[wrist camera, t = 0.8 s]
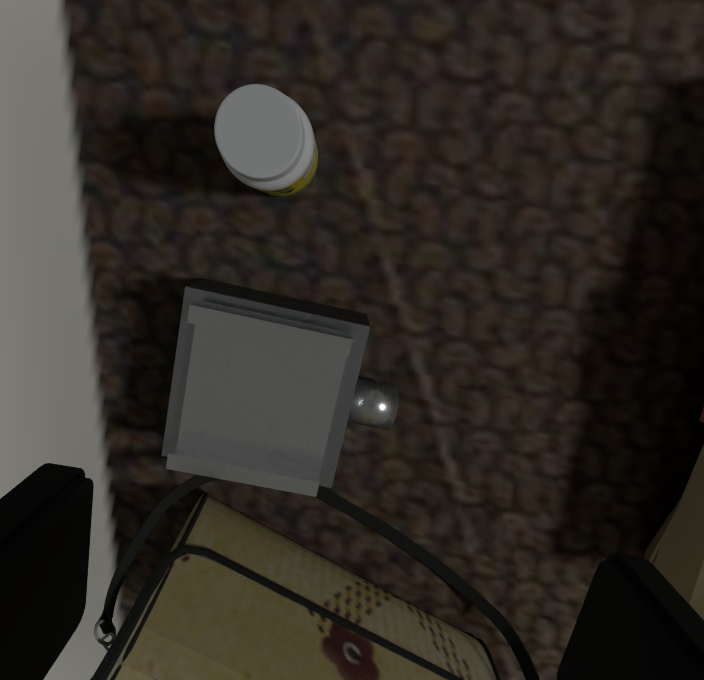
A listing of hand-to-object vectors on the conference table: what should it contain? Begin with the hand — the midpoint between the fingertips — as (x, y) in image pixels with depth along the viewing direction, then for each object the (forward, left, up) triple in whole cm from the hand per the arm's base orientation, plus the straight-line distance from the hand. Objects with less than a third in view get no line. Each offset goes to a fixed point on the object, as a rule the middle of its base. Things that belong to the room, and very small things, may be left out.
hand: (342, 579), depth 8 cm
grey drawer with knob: (+5, -2, -24) cm, 24 cm away
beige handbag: (+18, +5, -24) cm, 30 cm away
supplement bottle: (-9, -6, -24) cm, 26 cm away
